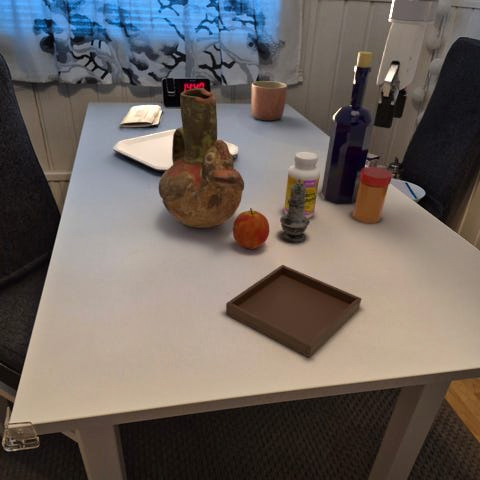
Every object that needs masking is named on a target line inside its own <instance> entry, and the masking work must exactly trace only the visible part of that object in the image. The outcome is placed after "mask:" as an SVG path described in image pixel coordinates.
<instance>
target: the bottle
mask: <svg viewBox="0 0 480 480" xmlns="http://www.w3.org/2000/svg"><path fill="white" fill-rule="evenodd" d="M373 55H374V53H373V52H371V51H358V53H357V58H356V65H354V68H353V69H354V70H353V71H354V78H353V84H352V89H351V97H350V104H349V105H348V104H347V105H344V106H341V107H340V108H339V109H338V110H337V111H336V113H334V115H333V116H332V122H331V129H330V135H329V142H328V149H327V155H326V160H325V166H324V172H323V179H322V185H321V190H320V191H321V192H320V196H321V197H322V199H323V201H327V202H329V203H333V204H336V205H352V204H355V201H356V196H357V191H358V186H359V182H360V180H359V176H360V171H361V169H362V168H365V167H366V165H367V159H368V154H369V148H370V145H371V140H372V135H373V130H374V120H375V117H374V116H373V114H372V112H371V110H370V109H369V108H368V107H366V106H364V105H363V103H364V100H365V94H366V89H367V84H368V80H369V76H370V73H371V72H372V66H371V64H372V61H373Z"/></svg>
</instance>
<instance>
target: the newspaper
mask: <svg viewBox="0 0 480 480" xmlns="http://www.w3.org/2000/svg"><path fill="white" fill-rule="evenodd" d="M162 112H163V110H162V109H161V106H159V105H157V104H146V105H144V104H143V105H134V106H132V107H131V108H130V109H129V111H128V112H127V114H125V117H124V118H123V119H122V121H121V123H120V125H119V126H120V127H121V128H138V127H139V128H141V127H151V126H154V125H159V122H160V118H161V115H162Z"/></svg>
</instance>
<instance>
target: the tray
mask: <svg viewBox="0 0 480 480" xmlns="http://www.w3.org/2000/svg"><path fill="white" fill-rule="evenodd" d="M361 302H362V297H360V296H357V295H354V294H352V293H350V292H348V291H345V290H343V289H341V288H338V287H335V286H333V285H331V284H330V283H329V284H328V283H326V282H324V281H322V280H320V279H317V278H315V277H312V276H310V275H307V274H305V273H303V272H300V271H299V270H296V269H294V268H291V267H289V266H286V265H284V264H281V265H280V266H278V267H277V268H275V269H274V270H271V272H270V273H268V274H267V275H265V276H264V277H262V278H260V279H259V280H258V281H256V282H255V283H253V284H252V285H250V286H249V287H248V288H246V289H245V290H244V291H242V292H241V293H239V294H237V295H236V296H234V297H233V298H231V299H230V300H229V301H227V302H226V303H225V304H226V305H225V314H226V315H227V316H229V317H231V318H233V319H235V320H237V321H238V322H241V323H242V324H245V326H248V327H250V328H252V329H254V330H256V331H257V332H259V333H261V334H263V335H266V336H267V337H269V338H271V339H273V340H275V341H277V342H278V343H281V344H282V345H284V346H286V347H288V348H290V349H292V350H293V351H296V352H297V353H299V354H301V355H303V356H305V357H307V358H311V357H312V355H314V354H315V353H316V352H317V351H318V350H319V349H320V348H321V347H322V346H323V345H324V344H325V343H326V342H327V341H328V340H329V339H330V338H331V337H332V336H333V335H334V334H335V333H336V332H337V331H338V330H339V329H340V328H341V327H342V326H343V325H344V324H346V322H347V321H348V320H349V319H350V318H352V316H353V315H355V314H356V312H358V310H359V309H360V306H361Z"/></svg>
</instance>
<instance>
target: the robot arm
mask: <svg viewBox="0 0 480 480" xmlns="http://www.w3.org/2000/svg"><path fill="white" fill-rule="evenodd" d="M439 4H440V0H391V5H390V12H389V16H388V23H391V25H390V29H389V31H388V35H387V38H386V42H385V45H384V49H383V50H384V51H383V54H382V57H381V61H380V65H379V66H380V67H379V70H378V74H377V79H376V87H377V88H381V87H382V89H381V91H380V96H379V98H378V102H377V106H376V110H375V116H374V125H373V127H377V128H384V129H391V128H392V125H393V121H394V118H396V119H401V118H403V114H404V110H405V106H406V102H407V98H408V92H409V85H410V84H411V83H412V82H413V81H414V77H415V75H416V71H417V67H418V63H419V60H420V55H421V51H422V47H423V43H424V39H425V34H426V29H427V26H433V25H434V24H435V19H436V15H437V12H438V7H439Z"/></svg>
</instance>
